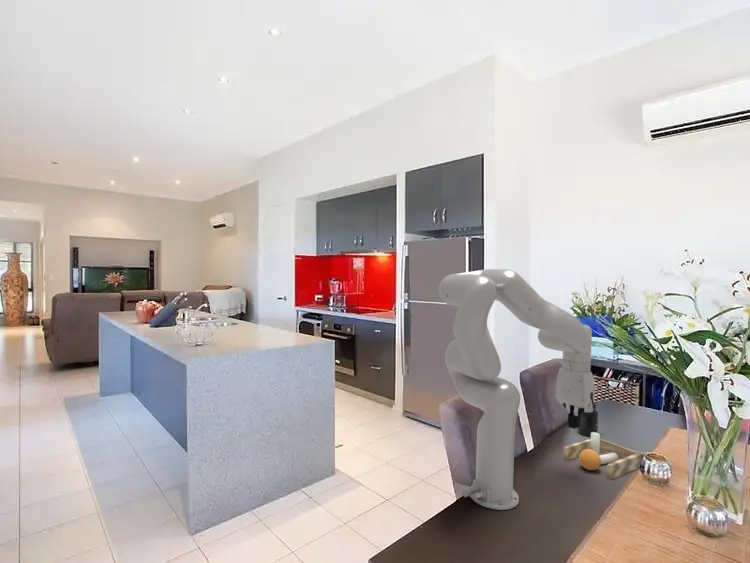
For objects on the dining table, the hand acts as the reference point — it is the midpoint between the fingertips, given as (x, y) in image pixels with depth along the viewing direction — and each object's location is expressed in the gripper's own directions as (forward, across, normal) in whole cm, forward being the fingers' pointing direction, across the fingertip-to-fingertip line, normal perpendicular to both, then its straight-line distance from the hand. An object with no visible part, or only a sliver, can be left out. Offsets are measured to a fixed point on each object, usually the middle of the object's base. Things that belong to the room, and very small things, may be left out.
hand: (573, 427), depth 125 cm
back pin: (+14, -2, +16) cm, 21 cm away
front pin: (+13, 0, +12) cm, 18 cm away
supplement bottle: (+14, -17, +35) cm, 41 cm away
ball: (+11, +1, +8) cm, 13 cm away
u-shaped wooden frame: (+14, 0, +16) cm, 21 cm away
